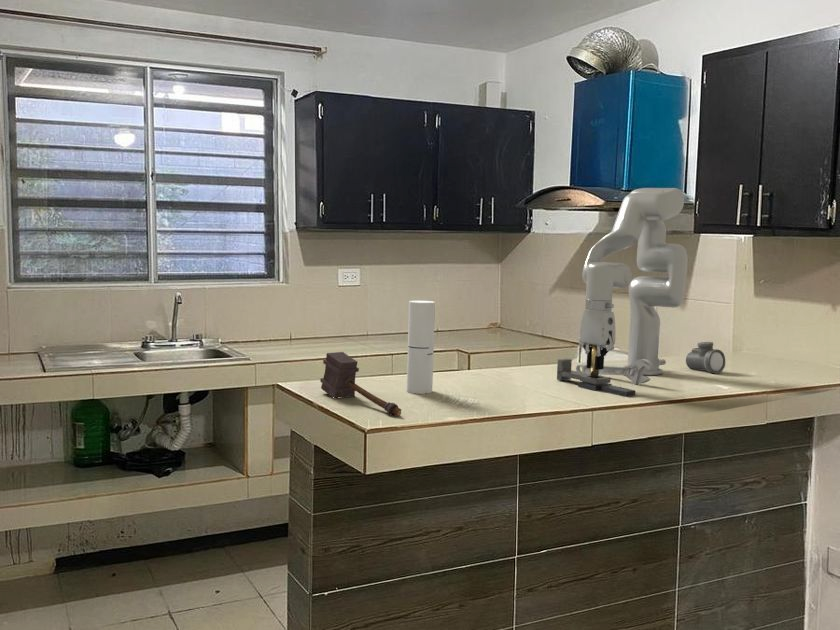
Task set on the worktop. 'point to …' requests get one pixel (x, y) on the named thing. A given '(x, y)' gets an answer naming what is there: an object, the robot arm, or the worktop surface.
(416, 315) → the cylindrical container
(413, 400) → the worktop surface
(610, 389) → the bar
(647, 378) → the wrench
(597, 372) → the pin
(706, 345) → the pipe fitting
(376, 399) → the hammer
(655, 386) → the worktop surface
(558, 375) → the chain end
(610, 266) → the robot arm
